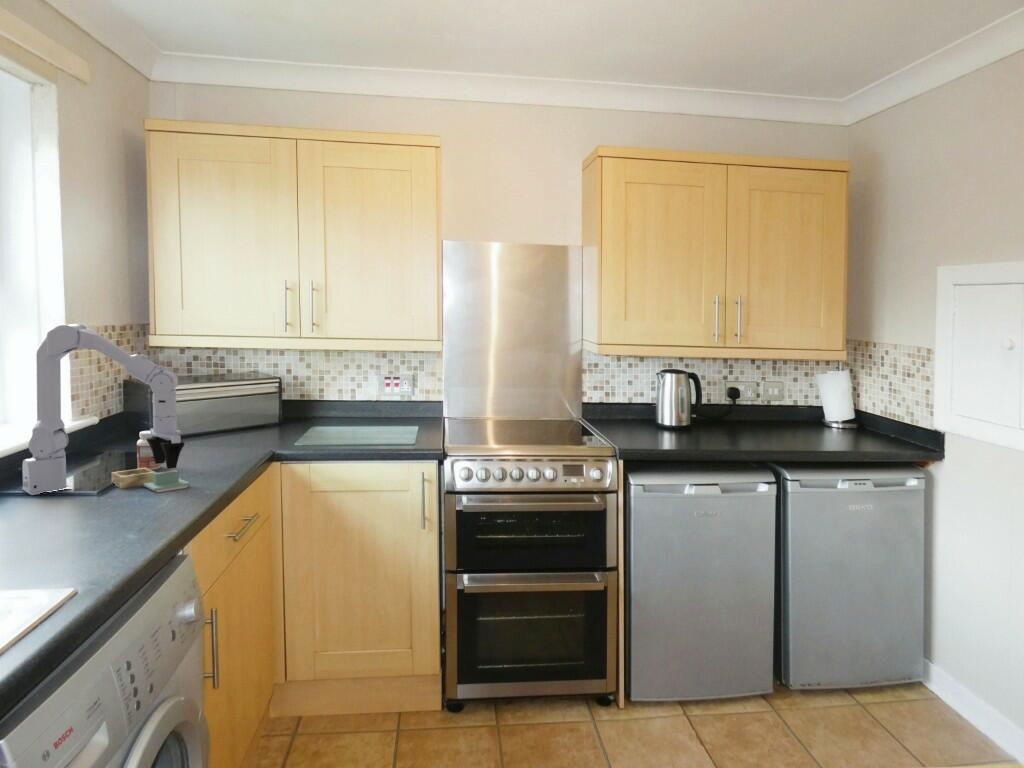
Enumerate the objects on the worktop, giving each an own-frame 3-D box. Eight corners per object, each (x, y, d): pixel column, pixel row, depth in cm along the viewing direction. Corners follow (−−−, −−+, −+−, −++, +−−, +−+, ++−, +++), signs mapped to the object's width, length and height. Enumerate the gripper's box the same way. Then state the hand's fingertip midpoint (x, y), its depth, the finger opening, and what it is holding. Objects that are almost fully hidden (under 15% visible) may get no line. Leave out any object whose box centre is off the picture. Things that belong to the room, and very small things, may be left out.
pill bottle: (142, 466, 222) (141, 429, 221) (163, 466, 223) (162, 430, 222) (133, 470, 216) (132, 433, 215) (155, 471, 217) (154, 433, 216)
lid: (153, 490, 194) (153, 477, 193) (142, 485, 199) (142, 472, 198) (189, 485, 200) (189, 472, 200) (177, 480, 205) (177, 467, 205)
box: (121, 488, 196) (121, 477, 196) (111, 483, 201) (111, 472, 201) (156, 483, 203) (155, 472, 203) (146, 478, 208) (145, 467, 207)
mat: (157, 492, 194) (157, 490, 194) (145, 486, 199) (145, 484, 199) (187, 487, 200) (187, 485, 200) (175, 481, 205) (175, 480, 205)
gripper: (191, 418, 196) (192, 468, 197) (168, 411, 205) (169, 459, 207) (164, 420, 190) (165, 472, 192) (142, 413, 200) (143, 462, 202)
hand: (165, 465), depth 199 cm, fingers open, 7 cm apart
